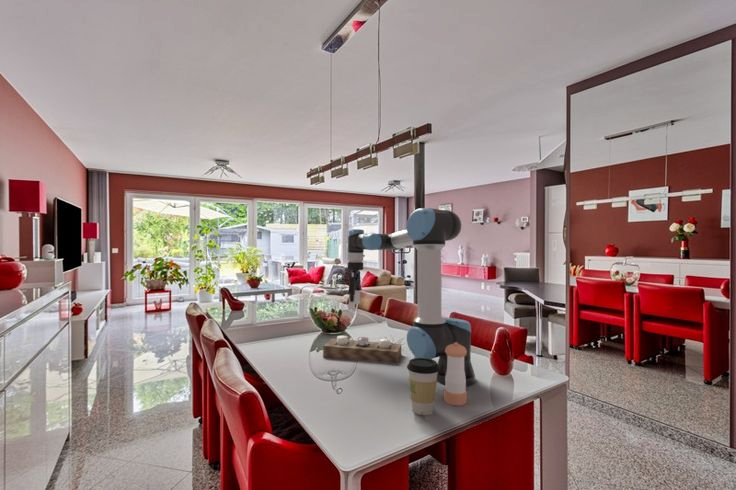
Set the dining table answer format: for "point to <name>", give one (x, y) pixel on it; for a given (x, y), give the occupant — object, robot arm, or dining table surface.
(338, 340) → the left knob
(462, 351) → the salt shaker
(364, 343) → the pot dial
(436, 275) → the robot arm
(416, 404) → the coffee cup
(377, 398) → the dining table surface
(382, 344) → the right knob
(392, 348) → the block
